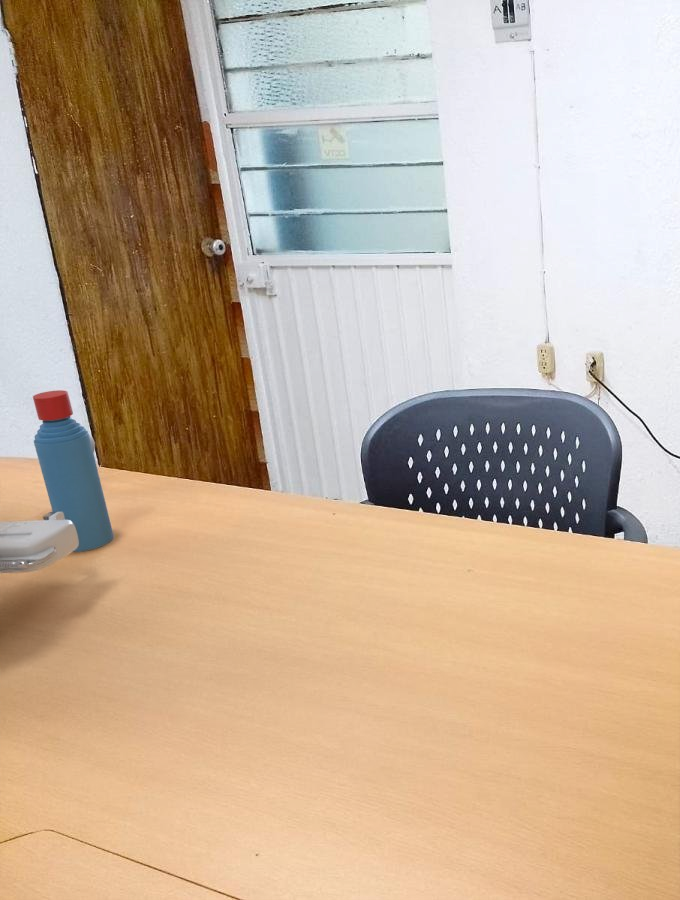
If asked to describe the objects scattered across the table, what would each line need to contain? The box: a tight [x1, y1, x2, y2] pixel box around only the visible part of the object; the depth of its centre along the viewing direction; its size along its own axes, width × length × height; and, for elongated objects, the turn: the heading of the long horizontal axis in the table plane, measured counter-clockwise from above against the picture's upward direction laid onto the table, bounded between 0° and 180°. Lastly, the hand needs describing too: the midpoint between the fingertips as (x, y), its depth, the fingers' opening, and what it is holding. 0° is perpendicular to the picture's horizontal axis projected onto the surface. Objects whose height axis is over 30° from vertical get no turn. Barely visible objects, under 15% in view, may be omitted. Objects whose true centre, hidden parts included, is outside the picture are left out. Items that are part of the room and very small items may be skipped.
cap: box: [32, 389, 74, 421], centre depth 112 cm, size 4×4×3 cm
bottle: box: [33, 416, 115, 553], centre depth 115 cm, size 6×6×22 cm
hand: (21, 518), depth 105 cm, fingers open, 8 cm apart
